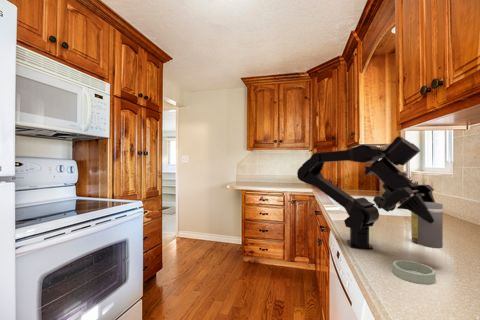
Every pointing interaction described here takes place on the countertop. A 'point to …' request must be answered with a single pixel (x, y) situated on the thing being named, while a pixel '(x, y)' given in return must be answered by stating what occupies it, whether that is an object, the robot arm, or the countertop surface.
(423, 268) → the collar ring
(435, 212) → the grey upright cylinder
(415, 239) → the sauce bottle
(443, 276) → the countertop surface
